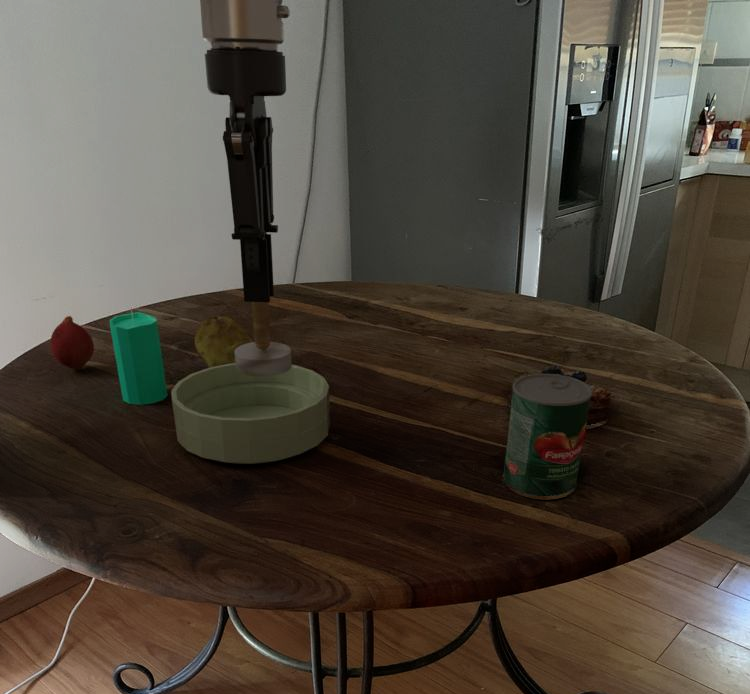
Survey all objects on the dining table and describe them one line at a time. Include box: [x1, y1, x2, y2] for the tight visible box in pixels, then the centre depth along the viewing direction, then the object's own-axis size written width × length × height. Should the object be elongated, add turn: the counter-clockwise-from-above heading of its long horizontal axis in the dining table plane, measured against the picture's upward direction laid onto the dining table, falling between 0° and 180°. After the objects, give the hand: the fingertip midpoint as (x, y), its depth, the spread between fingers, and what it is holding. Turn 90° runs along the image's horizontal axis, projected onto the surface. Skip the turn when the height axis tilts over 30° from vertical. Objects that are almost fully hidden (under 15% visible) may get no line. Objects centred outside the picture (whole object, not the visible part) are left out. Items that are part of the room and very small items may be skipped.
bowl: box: [170, 363, 331, 465], centre depth 88 cm, size 18×18×6 cm
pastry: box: [507, 365, 612, 425], centre depth 94 cm, size 11×12×6 cm
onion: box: [49, 315, 95, 371], centre depth 106 cm, size 6×6×8 cm
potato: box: [194, 314, 254, 368], centre depth 104 cm, size 8×13×8 cm, turn 22°
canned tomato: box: [502, 373, 592, 496], centre depth 77 cm, size 8×8×11 cm
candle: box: [109, 307, 168, 406], centre depth 96 cm, size 6×6×12 cm
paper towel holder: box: [235, 231, 293, 377], centre depth 81 cm, size 6×6×16 cm
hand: (259, 297), depth 81 cm, fingers closed on paper towel holder, 2 cm apart
